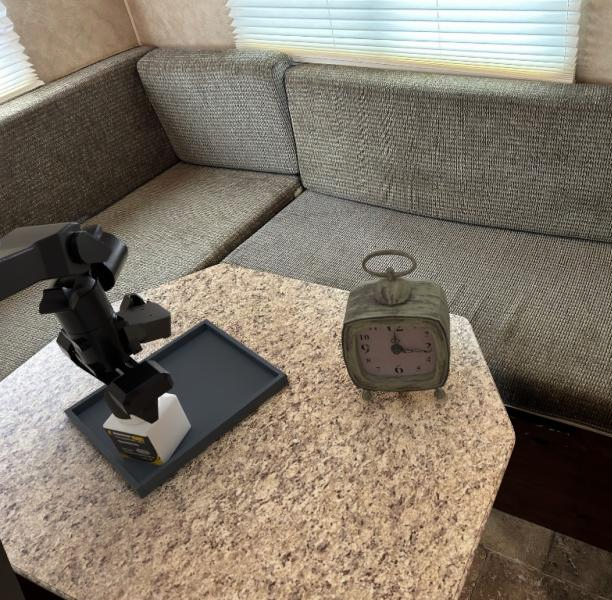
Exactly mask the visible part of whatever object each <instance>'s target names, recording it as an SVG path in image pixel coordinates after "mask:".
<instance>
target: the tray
mask: <svg viewBox="0 0 612 600" xmlns="http://www.w3.org/2000/svg"><path fill="white" fill-rule="evenodd" d="M145 360H149V361H155V362H156V363H158V364H159V365H160V366H161V367H162V368H164V369H165V370H166V371H167V372H168V373H169V374H170V376H171V378H172V380H173V382H174V385H173V388H172V389H171V390H169V391H168V392H166V393H168V394H173V395H176V397H177V399H178V401H179V403H180V405H181V407H182V409H183V411H184V413H185V415H186V417H187V419H188V421H189V423H190V425H191V428H190V429H189V431H188V432H187V434H186V435H185V437H184V438H183V440H182V441H181V443H180V444H179V445H178V447H177V448H176V450H175V451H174V453H173V454H172V456H171V457H170V459H169V460H168V461H166V462H165V463H164V464H163V465H161V466H159V465H155V464H151V463H146V462H142V461H138V460H133V459H129V458H124V457H122V456H121V454H120V453H119V451H118V449H117V448H116V446H115V445H114V443H113V442H112V440H111V438H110V437H109V435H108V434H107V432H106V431H105V429H104V427H103V424H104V423H105V422H106V421H107V419H108V418H109V417H110V416H111V415H112V412H111V410H110V408H109V407H108V405H107V403H106V402H105V399H104V394H105V391H106V389H107V387H108V386H107V385H106V384H104V383H103V385H102V386H100V387H98V388H96V389H95V390H93V391H91V392H90V393H89V394H87V395H85V396H84V397H83V398H81V399H80V400H78V401H76V402H75V403H73V404H72V405H71V406H69V407H67V408H66V409H64V410H63V412H64V414H65V415H66V417H67V418H68V420H69V421H70V422H71V424H72V425H73V426H75V428H76V429H77V430H78V431H79V432H80V433H81V434H82V436H83V437H84V438H85V439H86V440H87V441H88V442H89V443H90V444H91V445H92V446H93V447H94V449H95V450H96V451H97V452H98V453H99V454H100V455H101V456H102V457H103V458H104V459H105V461H107V463H108V464H109V465H110V466H111V467H112V468H113V470H115V472H117V474H118V475H119V476H120V477H121V478H122V479H123V480H124V481H125V482H126V483H127V485H129V487H130V488H131V489H132V490H133V491H134V492H135V493H136V494H137V496H138V497H139V498H140V499H144V498H145V497H147V496H148V495H149V494H150V493H151V492H153V491H154V490H155V489H156V488H158V487H159V486H160V485H161V484H163V483H164V482H165V481H167V480H168V479H169V478H170V477H172V476H173V475H175V473H177V472H178V471H180V470H181V469H182V468H183V467H185V466H186V465H187V464H188V463H190V462H191V461H193V460H194V459H195V458H196V457H198V456H199V455H200V454H201V453H202V452H204V451H205V450H207V449H208V448H209V447H210V446H211V445H213V444H214V443H215V442H216V441H218V440H219V439H220V438H221V437H223V436H224V435H226V433H228V432H229V431H230V430H232V429H233V428H234V427H236V426H237V425H238V424H239V423H240V422H242V421H243V420H244V419H245V418H247V417H248V416H249V415H251V414H252V413H253V412H254V411H256V410H257V409H258V408H259V407H261V406H262V405H263V404H265V403H266V402H267V401H269V400H270V399H272V398H273V396H275V395H276V394H277V393H279V392H280V391H281V390H283V389H284V388H286V386H287V385H289V384H290V381H289V377H288V375H287V373H285V372H284V371H283V370H281V369H280V368H279V367H277V366H275V365H274V364H273V363H271V361H268V360H267V359H265V358H264V357H262V356H261V355H260V354H258V353H257V352H255V351H254V350H253V349H252V348H250V347H248V346H246V344H244V343H242V342H241V341H240V340H238V339H236V338H235V337H233V336H232V335H230V334H229V333H228V332H226V331H225V330H223V328H220V327H219V326H217V325H216V324H215V323H214V322H212V321H210V320H209V319H207V318H205V319H204V320H202V321H200V322H199V323H197V324H195V325H194V326H192V327H191V328H189V329H188V330H187V331H185V332H183V333H181V334H180V335H178V336H177V337H175V338H174V339H173V340H171V341H169V342H167V343H166V344H164V345H163V346H162V347H160V348H158V349H156V351H154V352H152V353H151V354H148V355H147V356H146V357H144V358H143V359H142V360H140V361H137V362H138V363H139V364H140V363H142V362H143V361H145Z"/></svg>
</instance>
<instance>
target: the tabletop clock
mask: <svg viewBox="0 0 612 600" xmlns="http://www.w3.org/2000/svg"><path fill="white" fill-rule="evenodd" d="M380 256H401V257H405V258H406V259H408V260H410V261H411V262H412V267H410V268H409V269H406V270H403V271H402V270H401V271H395V268H393V267H392V266H389V267H388V266H387V268H386V269H385V272H379V271H373V270H371V269H368V267H367V266H366V264H367V263H368V261H370V260H371V259H373V258H375V257H380ZM417 266H418V262H417V260H416V258H415V257H414V256H413V255H412V254H411V253H409V252H407V251H403V250H402V249H401V250H400V249H381V250H380V249H379V250H375V251H373V252H371V253H369V254H367V255H366V256H365V257H363V260H362V262H361V267H362V270H363V271H364V272H365V273H366V274H368V275H370V276H372V277H375V279H368V280H364V281H361V282H359V283H357V284H356V285H354V286H351V288H350V290H349V293H348V296H347V301H346V302H347V303H346V307H345V313H344V318H343V322H342V326H341V334H340V335H341V336H340V340H341V341H340V343H341V344H340V345H341V352H342V359H343V362H344V365H345V368H346V371H347V375H348V376H349V378H350V380H351V382H352V384H354V386H355V387H356V388H357V389H359V390H363V391H362V392H361V398H362V399H363V400H364V401H370V400H372V398H373V392H383V393H384V392H386V393H409V392H425V391H433V390H434V391H433V396H434V398H435V399H437V400H443V399H444V398H445V397H446V392H445V389H443V387H445V385H446V383H447V382H448V379H449V375H450V370H451V369H450V367H451V316H450V315H451V314H450V308H449V302H448V298H447V296H446V292H445V290H444V289H443V287H442V286H441V284H440V283H438V282H437V281H436V280H432V279H430V278H425V277H405V276H408V275H411V274H412V273H413V272H414V271H416V268H418V267H417ZM376 278H377V279H376Z"/></svg>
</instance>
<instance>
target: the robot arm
mask: <svg viewBox="0 0 612 600" xmlns="http://www.w3.org/2000/svg"><path fill="white" fill-rule="evenodd" d="M128 257H129V248H128V245H127V243H125V242H124V241H123V240H122V239H120V238H119V237H118V236H117V235H115V234H113V233H112V232H111V233H110V232H108V231H104V230H103V228H102V226H101V224H99V223H97V224H88V225H83V226H82V228H81V225H80V224H79V223H78V222H76V221H69V222H67V221H66V222H58V223H50V224H49V223H48V224H41V225H40V224H39V225H30V226H23V227H21V226H20V227H17V228H14V229H12V231H9V232H8V233H7V234H5V235H4V236H3V237H1V238H0V303H1V302H3V301H5V300H7V299H9V298H11V297H13V296H14V295H17V294H18V293H21V292H22V291H24V290H26V289H28V288H30V287H32V286H34V285H35V284H38V283H40V282H43V281H50V280H51V281H50V283H49V284H48V286H47V287H46V288H44V289H42V297H41V300H40V301H39V303H38V314H39V315H42V316H43V315H52V314H54V316H55V317H56V319H57V321H58V322H59V324H60V325H61V327H62V328H60V331H59V332H58V335H57V337H56V339H55V342H56V344H57V346H58V347H59V349H60V351H61V352H62V354H64V355H65V356H66V357H67V358H68V359H70V361H71V362H72V363H73V364H74V365H75V366H76V367H78V368H79V369H81V370H82V371H84V372H86V373H87V374H89V375H90V376H92V377H93V378H95V379H96V380H98V381H99V382H101V383H103V385H104V384H106V385H107V386H109V384H110V383H111V382H112V384H111V386H110V388H109V391H108V392H109V394H110V395H111V397H112V398H113V400H114V401H115V403H116V404H117V405H118V406H119V407H120V408H121V409H122V410H123V411H124V412H125V413H127V414H128V415H134V416H136V417H138V418H140V419H142V420H144V421H146V422H148V423H150V424H153V423H154V422H156V421H157V420H158V419H159V412H158V398H159V397H161V396H162V395H163V394H165V393H166V392H168V391H169V390H171V389H172V388H173V385H174V382H173V380H172V378H171V376H170V374H169V373H168V372H167V371H166V370H165V369H164V368H162V367H161V366H160V365H159V364H158V363H156V362H155V361H149V360H145V361H143V362H142V363H140V364H139V363H138V362H139V361H137V360H136V359H135V358H133V357H132V356H136V355H137V354H139V353H141V352H142V351H144V349H143V347H142V345H141V344H148V343H151V342H154V341H158V340H161V339H163V340H166V339H168V338H170V337H172V313H171V312H170V311H169V310H167V309H166V308H165V307H163V306H162V305H160V304H159V303H158V302H153V301H151V300H149V299H147V300H146V301H145V300H144V298H143V297H141V295H139V294H138V293H137V292H129V293H125V294H124V296H123V297H122V299H121V302H120V304H119V310H118V311H117V312H116V311H115V309H114V306H113V305H112V303H111V301H110V299H109V298H108V297H109V296H108V295H107V292H109V291H110V290H112V289H113V288H114V287H115V286H116V283H117V281H118V280H119V277H120V275H121V273H122V271H123V268H124V266H125V264H126V262H127V260H128ZM131 355H132V356H131ZM119 376H120V377H119ZM118 377H119V378H118ZM116 378H117V379H116ZM113 380H114V381H113ZM0 600H26V598H25V595H24V593H23V591H22V588H21V585H20V582H19V580H18V578H17V576H16V573H15V571H14V569H13V566H12V563H11V561H10V559H9V556H8V554H7V551H6V549H5V546H4V544H3V541H2V539H1V538H0Z"/></svg>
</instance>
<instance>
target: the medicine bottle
mask: <svg viewBox="0 0 612 600" xmlns="http://www.w3.org/2000/svg"><path fill="white" fill-rule="evenodd" d="M119 377H120V376H119ZM119 377H118V378H119ZM116 379H117V378H116ZM113 381H114V380H113ZM111 384H112V382H111V383H110V384H109V386H108V387H107V389H106V391H105V394H104V399H105V402H106V403H107V405H108V407H109V408H110V410H111V412H112V415H111V416H110V417H109V418H108V419H107V421H106V422H105V423H104V424H103V427H104V429H105V431H106V432H107V434H108V435H109V437H110V438H111V440H112V442H113V443H114V445H115V446H116V448H117V449H118V451H119V453H120V454H121V456H122V457H124V458H129V459H133V460H138V461H142V462H146V463H151V464H155V465H159V466H161V465H163V464H164V463H165V462H166V461H168V460H169V459H170V457H171V456H172V454H173V453H174V451H175V450H176V448H177V447H178V445H179V444H180V443H181V441H182V440H183V438H184V437H185V435H186V434H187V432H188V431H189V429H190V428H191V425H190V423H189V421H188V419H187V417H186V415H185V413H184V411H183V409H182V407H181V405H180V403H179V401H178V399H177V397H176V395H173V394H168V393H165V394H163V395H162V396H161V397H159V398H158V412H159V419H158V420H157V421H156V422H154V423H153V424H150V423H148V422H146V421H144V420H142V419H140V418H138V417H136V416H134V415H128V414H127V413H125V412H124V411H123V410H122V409H121V408H120V407H119V406H118V405H117V404H116V403H115V401H114V400H113V398H112V397H111V395H110V394H109V392H108V391H109V388H110V386H111Z"/></svg>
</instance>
